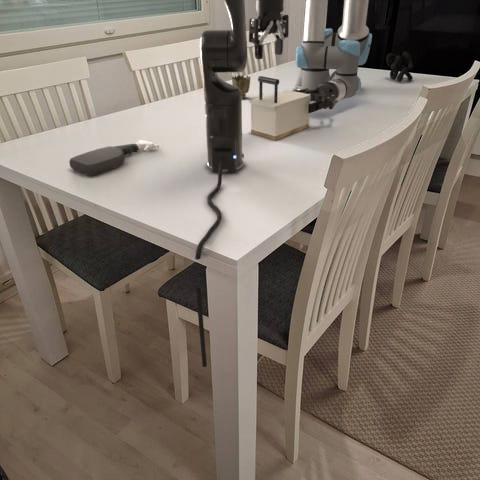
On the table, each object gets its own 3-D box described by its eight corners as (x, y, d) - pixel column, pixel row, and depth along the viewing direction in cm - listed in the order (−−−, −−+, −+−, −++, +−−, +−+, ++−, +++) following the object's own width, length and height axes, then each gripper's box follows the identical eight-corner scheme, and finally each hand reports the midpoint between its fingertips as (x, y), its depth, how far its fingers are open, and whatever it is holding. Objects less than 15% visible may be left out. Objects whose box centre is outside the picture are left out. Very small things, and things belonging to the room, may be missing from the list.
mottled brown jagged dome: (228, 98, 178) (228, 78, 173) (237, 94, 183) (237, 74, 179) (245, 101, 175) (245, 79, 170) (253, 96, 180) (253, 75, 176)
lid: (274, 109, 131) (275, 81, 126) (249, 103, 137) (249, 76, 133) (310, 97, 141) (312, 71, 137) (285, 92, 147) (286, 67, 143)
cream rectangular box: (275, 140, 136) (276, 108, 131) (250, 133, 142) (250, 102, 137) (308, 127, 146) (310, 97, 141) (284, 121, 152) (285, 92, 147)
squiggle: (400, 92, 202) (376, 71, 205) (417, 76, 202) (392, 56, 205) (405, 81, 191) (380, 59, 194) (423, 64, 191) (397, 42, 194)
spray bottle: (67, 168, 120) (139, 144, 136) (91, 178, 114) (163, 151, 130) (65, 157, 118) (137, 134, 134) (89, 167, 112) (162, 142, 128)
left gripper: (276, -10, 126) (275, 52, 135) (241, -7, 118) (242, 58, 126) (297, -9, 122) (294, 54, 130) (262, -6, 113) (262, 62, 122)
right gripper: (359, 109, 151) (323, 124, 138) (301, 97, 166) (263, 109, 153) (362, 86, 147) (325, 99, 134) (302, 76, 162) (263, 87, 149)
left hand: (268, 56), depth 128 cm, fingers open, 8 cm apart
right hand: (292, 105), depth 144 cm, fingers open, 13 cm apart
